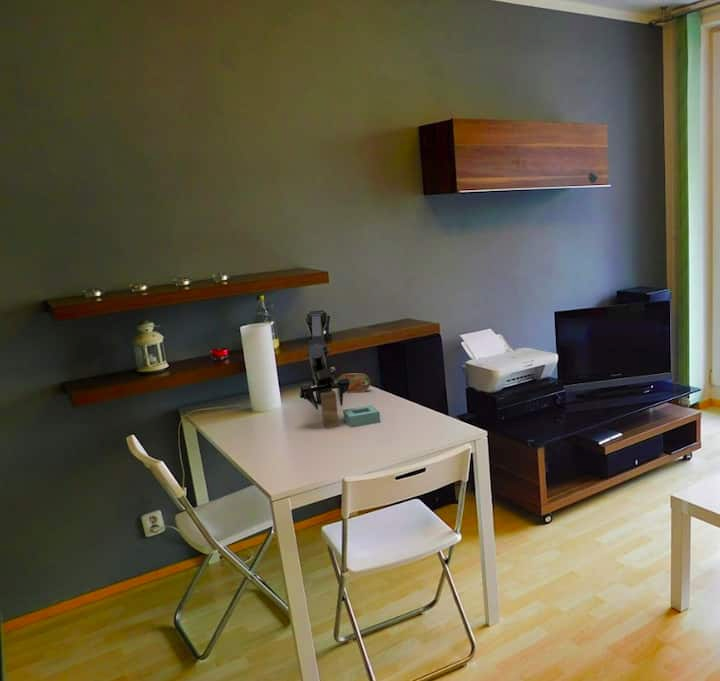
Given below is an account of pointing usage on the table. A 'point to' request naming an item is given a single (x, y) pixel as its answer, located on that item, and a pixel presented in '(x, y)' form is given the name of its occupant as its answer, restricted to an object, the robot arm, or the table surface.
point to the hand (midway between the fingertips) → (329, 407)
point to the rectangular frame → (361, 416)
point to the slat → (329, 409)
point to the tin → (357, 382)
